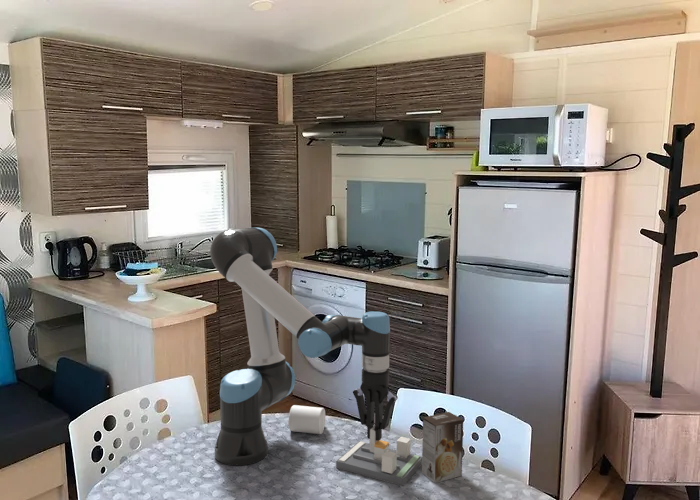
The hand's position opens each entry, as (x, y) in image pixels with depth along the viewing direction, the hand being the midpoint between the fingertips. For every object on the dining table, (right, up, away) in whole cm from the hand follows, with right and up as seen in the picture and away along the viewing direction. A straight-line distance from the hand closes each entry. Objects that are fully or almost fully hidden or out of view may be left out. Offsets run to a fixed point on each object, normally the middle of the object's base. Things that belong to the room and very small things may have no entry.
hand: (374, 450), depth 163 cm
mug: (-20, -1, +23) cm, 31 cm away
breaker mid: (+2, -2, -1) cm, 3 cm away
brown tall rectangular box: (+18, -5, -5) cm, 19 cm away
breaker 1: (+4, -3, -7) cm, 9 cm away
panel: (+2, -4, 0) cm, 4 cm away
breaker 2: (+8, -2, +2) cm, 9 cm away
